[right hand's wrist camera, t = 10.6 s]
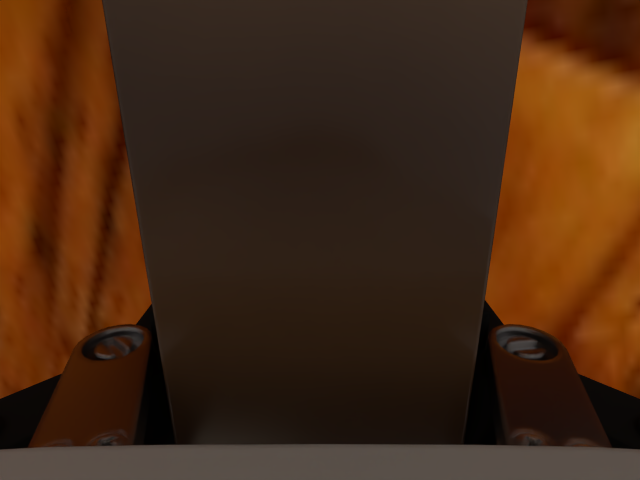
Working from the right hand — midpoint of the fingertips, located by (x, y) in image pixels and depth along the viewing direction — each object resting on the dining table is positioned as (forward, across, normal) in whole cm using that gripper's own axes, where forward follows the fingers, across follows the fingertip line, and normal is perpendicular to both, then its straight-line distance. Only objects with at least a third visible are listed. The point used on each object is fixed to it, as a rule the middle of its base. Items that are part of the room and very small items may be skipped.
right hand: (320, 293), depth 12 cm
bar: (+3, 0, -23) cm, 23 cm away
